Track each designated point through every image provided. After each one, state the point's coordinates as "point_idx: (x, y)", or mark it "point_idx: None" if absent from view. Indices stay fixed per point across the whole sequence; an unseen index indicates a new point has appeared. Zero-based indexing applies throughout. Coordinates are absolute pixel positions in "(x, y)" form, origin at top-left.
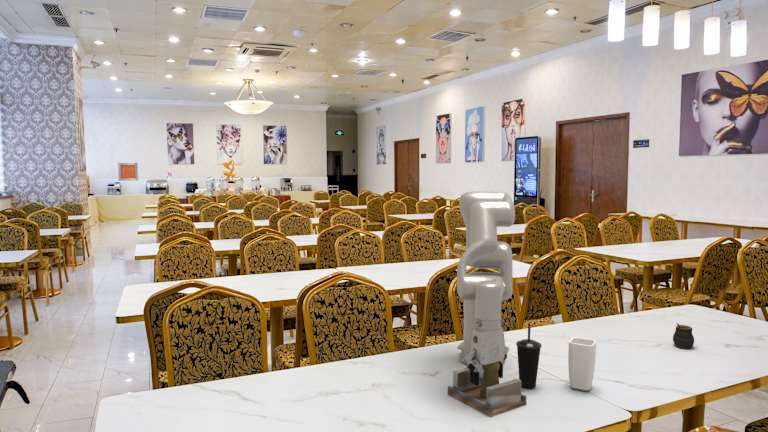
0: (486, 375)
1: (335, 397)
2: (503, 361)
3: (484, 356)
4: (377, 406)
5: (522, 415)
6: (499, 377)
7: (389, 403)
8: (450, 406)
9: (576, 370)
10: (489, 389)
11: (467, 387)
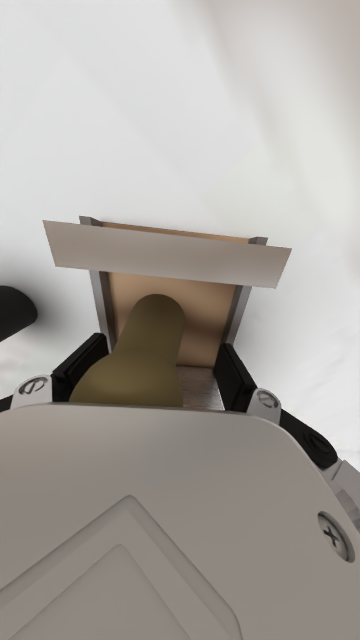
0: (175, 361)
1: (330, 441)
2: (24, 393)
3: (342, 580)
4: (332, 405)
5: (170, 168)
6: (106, 340)
7: (311, 402)
8: (259, 343)
9: None
10: (281, 267)
11: (181, 370)
